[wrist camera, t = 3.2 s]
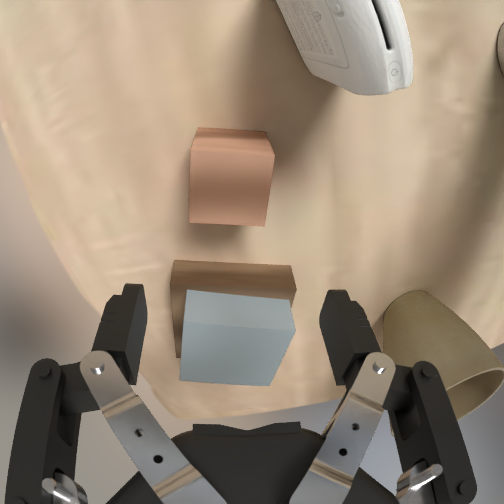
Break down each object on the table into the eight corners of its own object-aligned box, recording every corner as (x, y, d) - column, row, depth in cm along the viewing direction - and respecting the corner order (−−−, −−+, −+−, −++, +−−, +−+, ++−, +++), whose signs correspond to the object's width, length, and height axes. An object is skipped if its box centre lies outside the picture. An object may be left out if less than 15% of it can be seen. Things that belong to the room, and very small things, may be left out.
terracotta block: (198, 127, 25) (190, 150, 20) (265, 131, 26) (275, 155, 21) (195, 187, 28) (189, 222, 23) (257, 190, 29) (264, 226, 24)
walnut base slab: (174, 257, 33) (170, 283, 30) (289, 262, 34) (296, 288, 31) (178, 332, 40) (176, 357, 37) (272, 335, 41) (276, 360, 38)
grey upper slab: (186, 289, 30) (183, 321, 27) (289, 299, 32) (295, 330, 29) (181, 351, 36) (179, 380, 33) (265, 358, 38) (269, 386, 35)
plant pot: (443, 247, 34) (513, 348, 22) (455, 311, 42) (501, 394, 29) (339, 306, 38) (377, 423, 26) (373, 356, 46) (403, 447, 34)
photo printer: (355, 66, 22) (442, 94, 12) (308, 81, 23) (370, 116, 13) (309, -43, 16) (372, -95, 7) (257, -29, 17) (284, -84, 7)
